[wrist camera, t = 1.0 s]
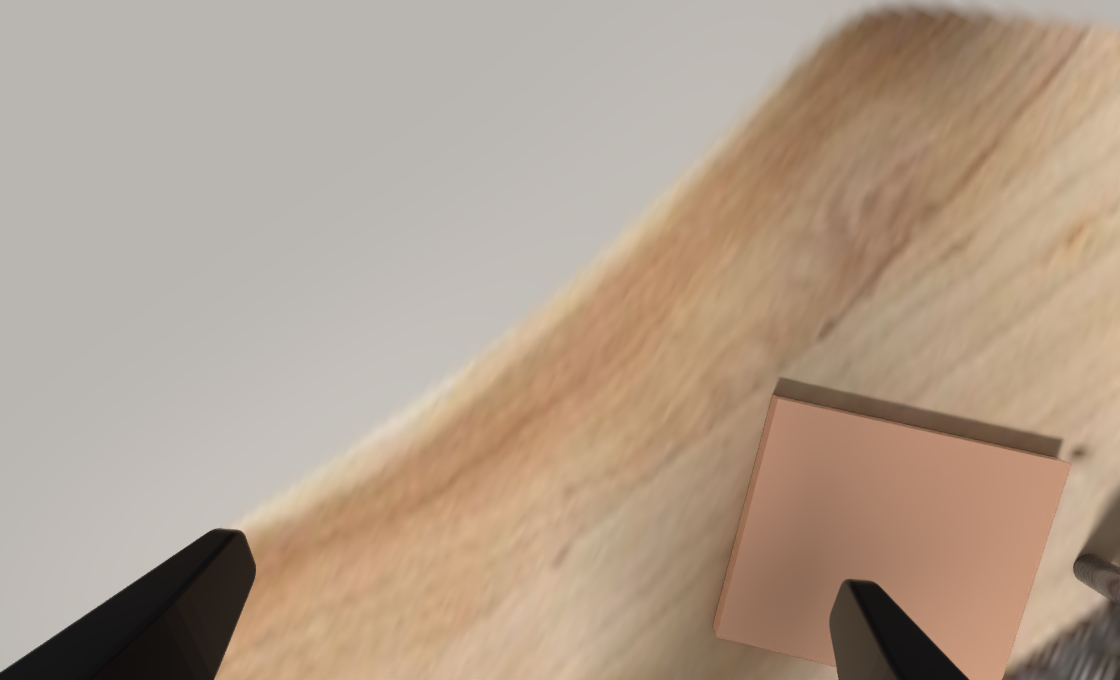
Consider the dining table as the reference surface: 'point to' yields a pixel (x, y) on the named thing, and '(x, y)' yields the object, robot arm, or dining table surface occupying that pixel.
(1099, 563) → the bent wire
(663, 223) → the dining table surface
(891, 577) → the terracotta tile
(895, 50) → the dining table surface
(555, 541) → the dining table surface
